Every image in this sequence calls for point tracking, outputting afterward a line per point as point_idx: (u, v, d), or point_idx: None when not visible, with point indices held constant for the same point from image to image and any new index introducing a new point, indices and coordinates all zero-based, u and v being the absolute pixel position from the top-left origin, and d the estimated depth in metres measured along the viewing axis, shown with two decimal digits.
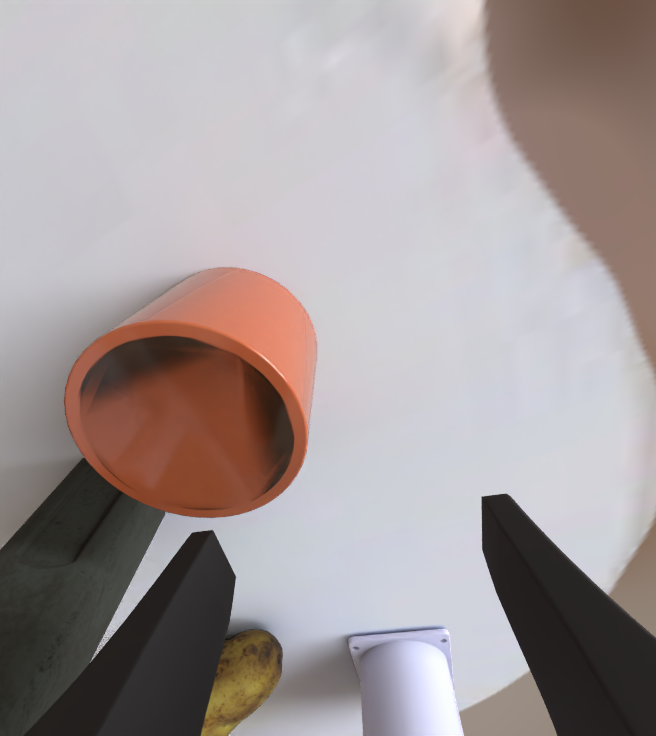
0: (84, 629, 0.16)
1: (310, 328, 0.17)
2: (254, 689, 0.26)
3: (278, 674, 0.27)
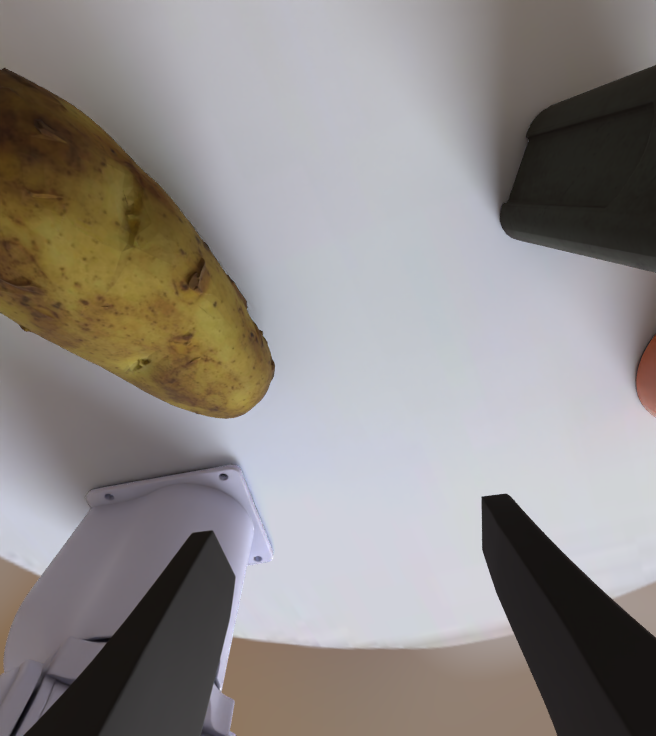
0: None
1: None
2: (237, 401, 0.15)
3: (233, 416, 0.17)
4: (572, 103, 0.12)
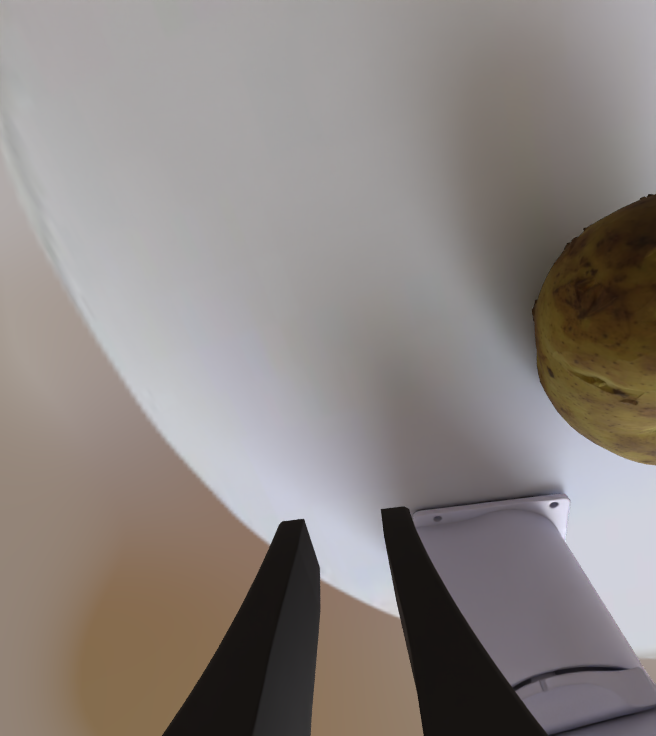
0: None
1: None
2: None
3: None
4: None
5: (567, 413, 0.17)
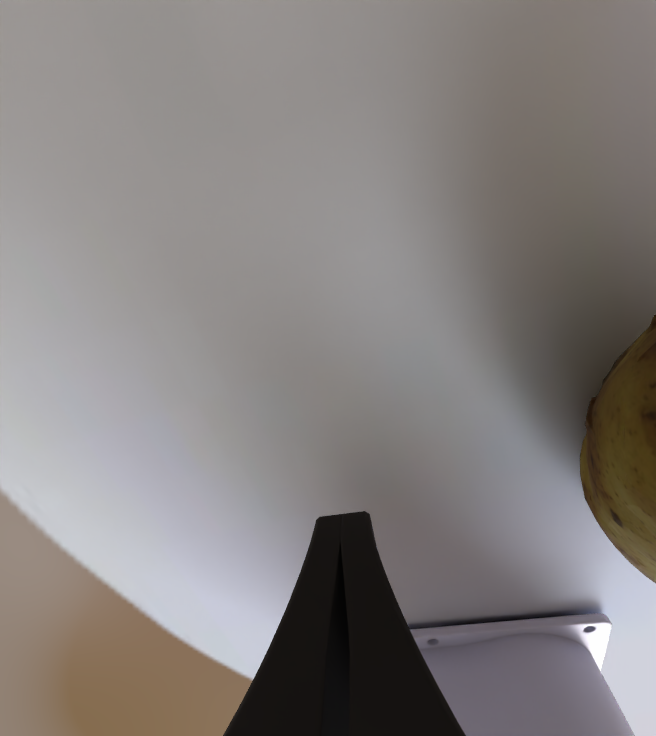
0: None
1: None
2: None
3: None
4: None
5: (631, 559, 0.11)
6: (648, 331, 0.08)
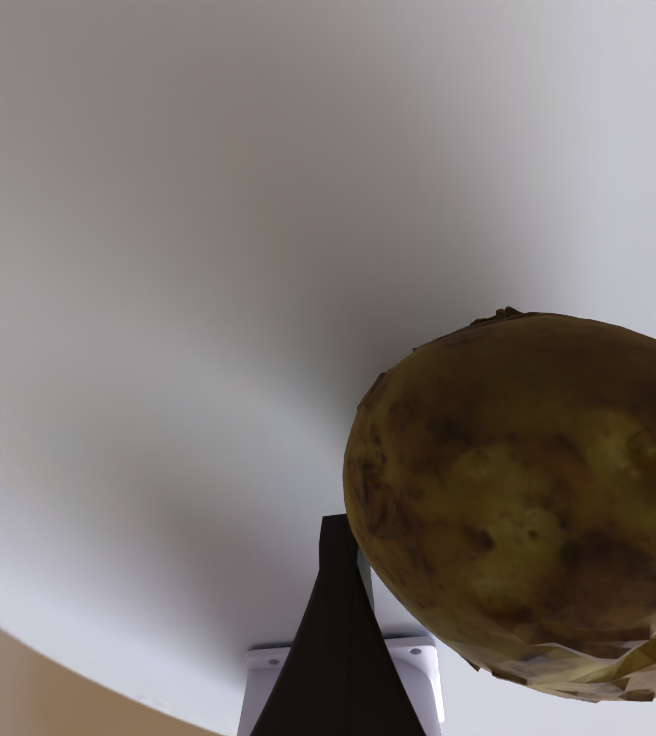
0: None
1: None
2: None
3: None
4: None
5: None
6: None
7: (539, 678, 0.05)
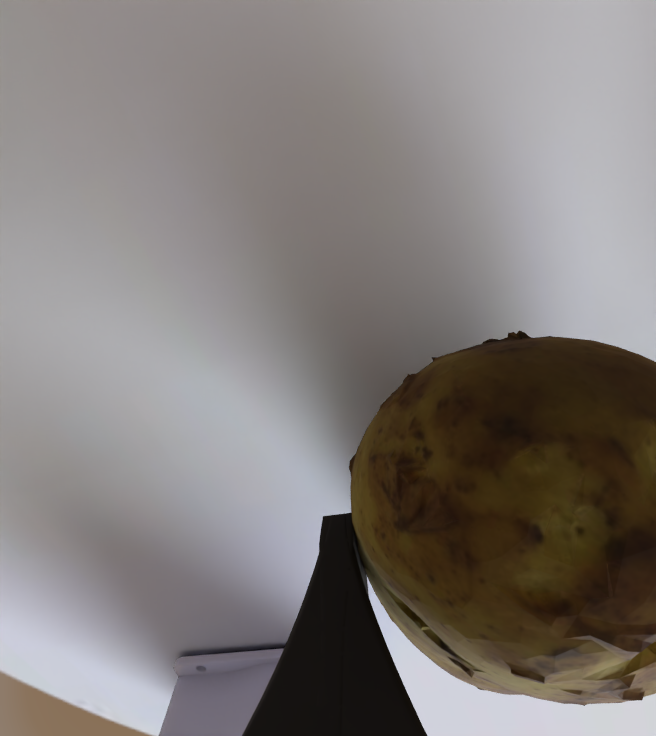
0: None
1: None
2: None
3: None
4: None
5: (387, 612, 0.11)
6: None
7: (557, 675, 0.05)
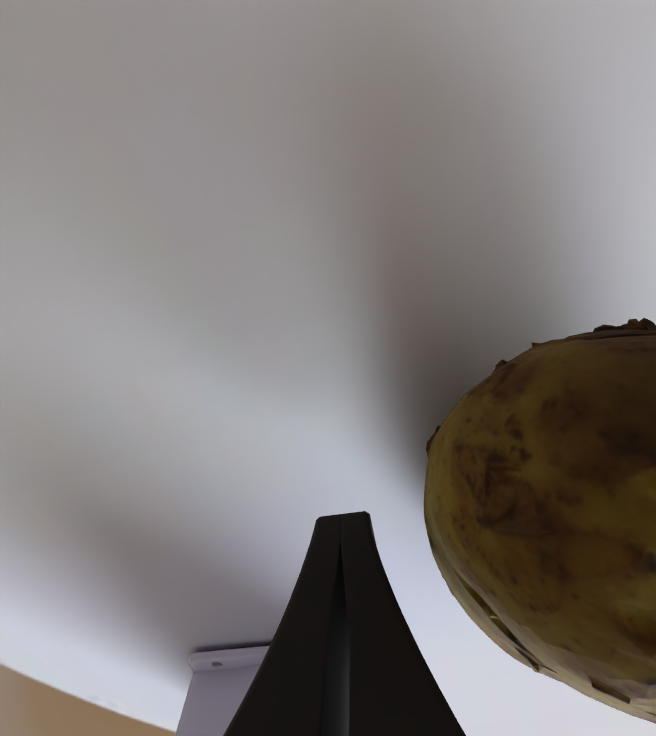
0: None
1: None
2: None
3: None
4: None
5: (448, 586, 0.11)
6: (492, 373, 0.08)
7: (646, 700, 0.05)
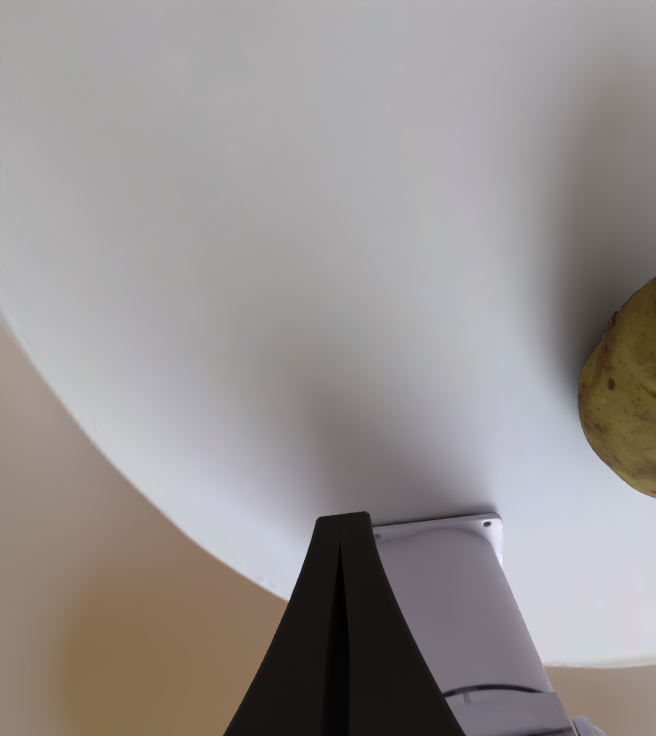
0: None
1: None
2: None
3: None
4: None
5: (602, 430, 0.17)
6: None
7: None
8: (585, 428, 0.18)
